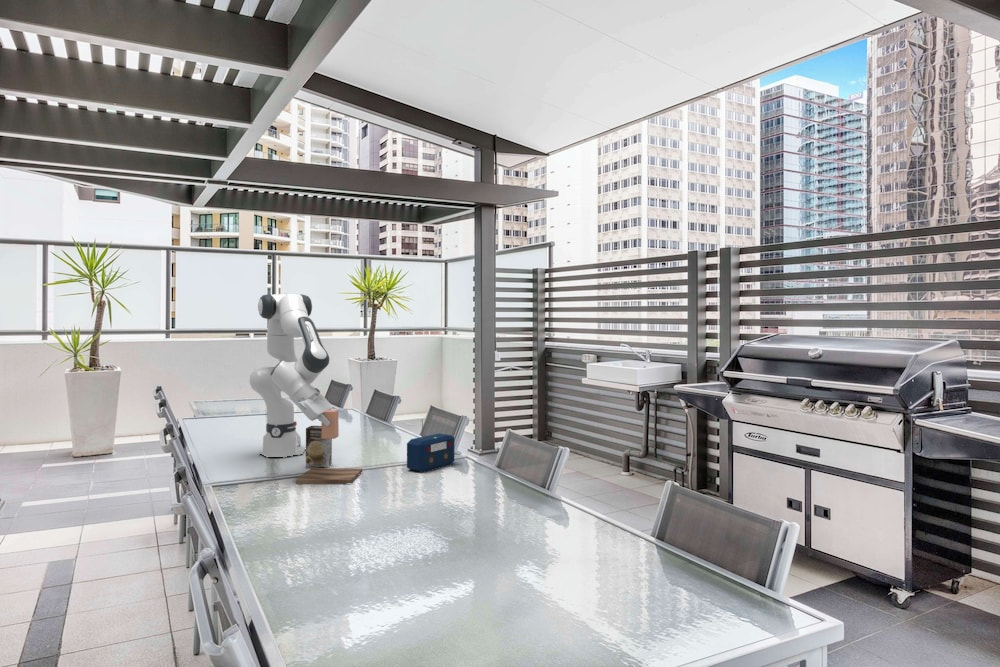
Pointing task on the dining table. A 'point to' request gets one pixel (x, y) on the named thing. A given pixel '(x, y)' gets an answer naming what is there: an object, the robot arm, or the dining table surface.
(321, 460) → the coffee box
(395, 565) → the dining table surface
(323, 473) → the walnut board
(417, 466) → the radio
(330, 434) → the terracotta block
